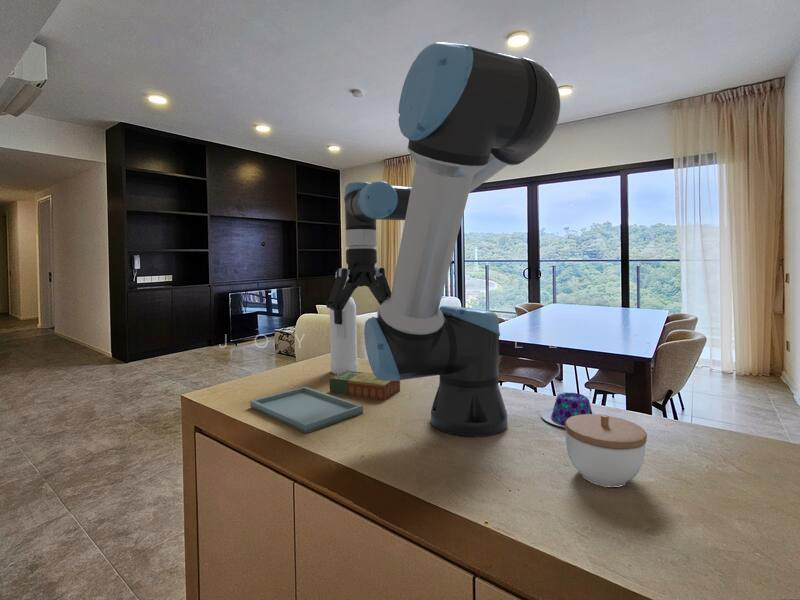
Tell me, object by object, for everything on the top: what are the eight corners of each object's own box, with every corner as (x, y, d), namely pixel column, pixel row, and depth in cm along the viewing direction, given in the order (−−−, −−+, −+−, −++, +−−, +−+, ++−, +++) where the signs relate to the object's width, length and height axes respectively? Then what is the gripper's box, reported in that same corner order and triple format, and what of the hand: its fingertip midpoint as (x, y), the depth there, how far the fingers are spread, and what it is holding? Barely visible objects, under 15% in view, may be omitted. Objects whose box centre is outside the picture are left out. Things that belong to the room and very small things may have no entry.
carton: (385, 402, 98) (384, 384, 97) (328, 393, 104) (328, 377, 104) (400, 392, 105) (400, 375, 105) (346, 384, 112) (346, 369, 112)
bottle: (362, 371, 124) (361, 270, 121) (341, 376, 119) (338, 271, 116) (347, 367, 130) (345, 270, 127) (325, 371, 124) (323, 271, 122)
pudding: (529, 420, 85) (529, 395, 84) (558, 407, 93) (558, 384, 92) (588, 438, 76) (589, 410, 76) (614, 421, 84) (615, 396, 84)
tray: (362, 413, 89) (362, 405, 89) (305, 433, 79) (305, 425, 79) (305, 392, 104) (304, 386, 104) (250, 407, 93) (250, 400, 93)
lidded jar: (663, 489, 58) (666, 424, 57) (600, 503, 55) (602, 434, 54) (605, 456, 68) (607, 400, 68) (549, 466, 65) (550, 407, 65)
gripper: (386, 249, 113) (387, 327, 115) (309, 247, 95) (312, 339, 97) (406, 248, 108) (407, 329, 110) (330, 246, 90) (332, 343, 92)
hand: (362, 334), depth 103 cm, fingers open, 13 cm apart
